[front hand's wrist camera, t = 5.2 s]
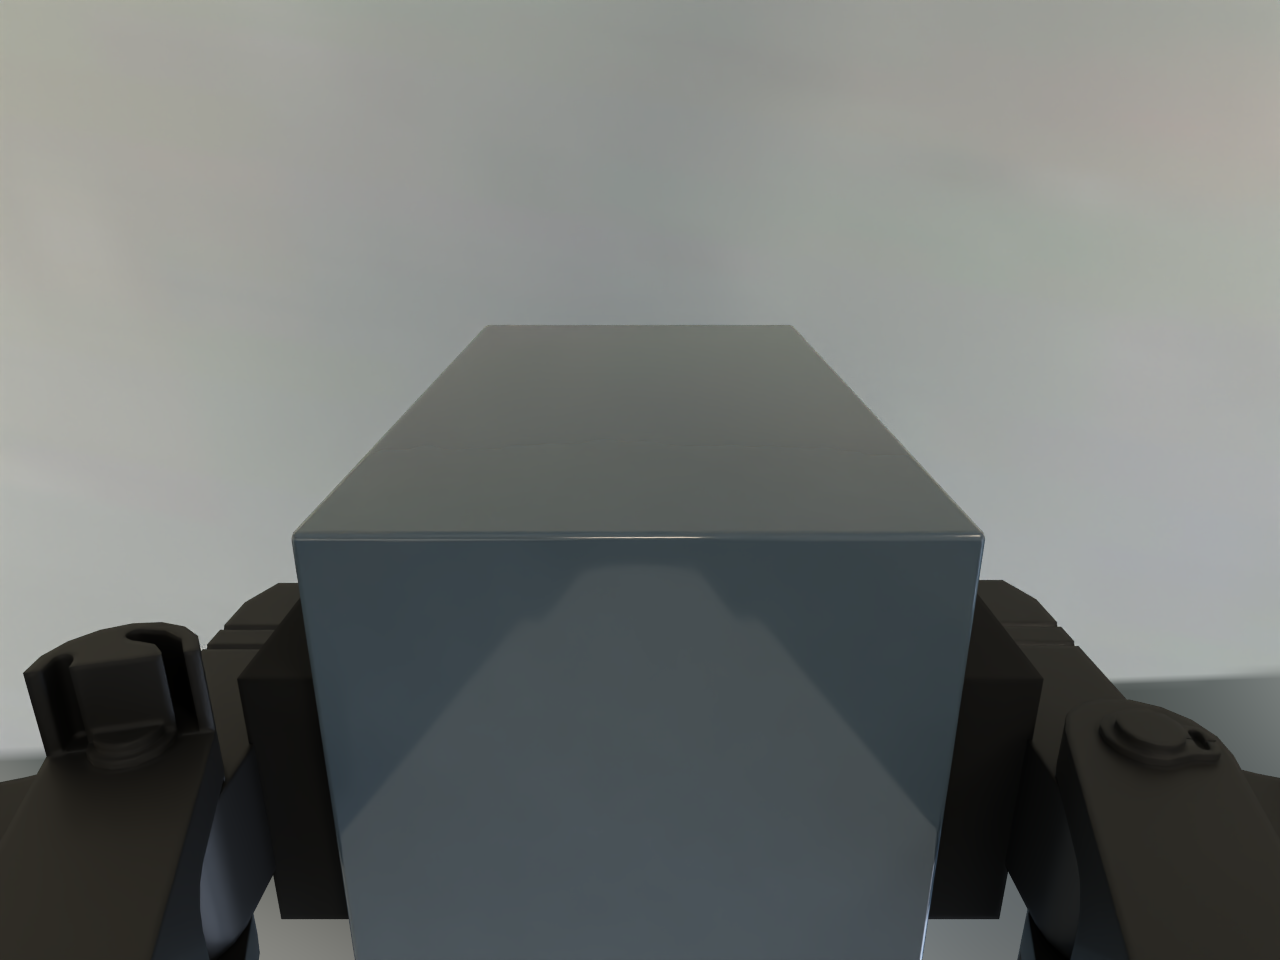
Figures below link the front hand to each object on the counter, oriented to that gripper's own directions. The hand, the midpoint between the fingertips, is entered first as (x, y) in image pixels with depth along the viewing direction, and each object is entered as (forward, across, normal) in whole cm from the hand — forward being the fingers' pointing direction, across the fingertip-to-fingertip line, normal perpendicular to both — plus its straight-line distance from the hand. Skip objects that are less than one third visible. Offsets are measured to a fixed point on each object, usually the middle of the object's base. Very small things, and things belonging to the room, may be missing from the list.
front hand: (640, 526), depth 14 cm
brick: (+3, 0, 0) cm, 3 cm away
